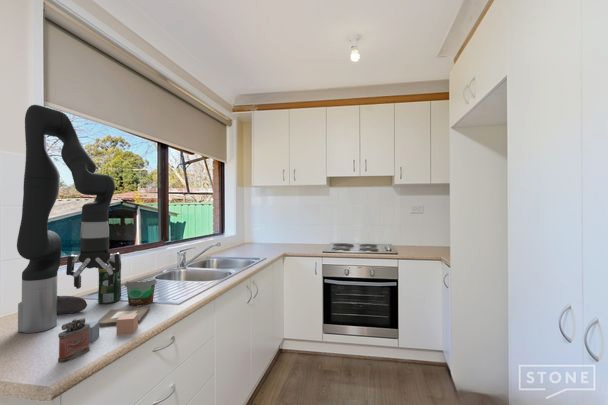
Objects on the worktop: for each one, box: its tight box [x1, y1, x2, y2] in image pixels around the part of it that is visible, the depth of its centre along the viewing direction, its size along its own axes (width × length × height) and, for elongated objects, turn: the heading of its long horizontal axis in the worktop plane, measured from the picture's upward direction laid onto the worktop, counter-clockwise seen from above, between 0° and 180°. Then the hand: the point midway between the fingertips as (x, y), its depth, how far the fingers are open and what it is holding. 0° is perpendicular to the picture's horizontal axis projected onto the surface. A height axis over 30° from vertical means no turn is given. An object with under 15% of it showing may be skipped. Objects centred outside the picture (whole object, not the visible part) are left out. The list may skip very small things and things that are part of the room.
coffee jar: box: [97, 257, 122, 305], centre depth 133 cm, size 10×8×19 cm
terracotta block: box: [116, 313, 139, 336], centre depth 102 cm, size 5×5×5 cm
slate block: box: [85, 320, 100, 345], centre depth 95 cm, size 5×5×5 cm
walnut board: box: [97, 306, 151, 328], centre depth 114 cm, size 14×14×1 cm
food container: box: [124, 278, 158, 307], centre depth 128 cm, size 12×6×10 cm, turn 105°
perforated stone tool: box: [57, 295, 88, 315], centre depth 118 cm, size 15×5×7 cm, turn 104°
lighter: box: [57, 317, 91, 364], centre depth 86 cm, size 8×3×10 cm, turn 163°
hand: (94, 286), depth 97 cm, fingers open, 8 cm apart
